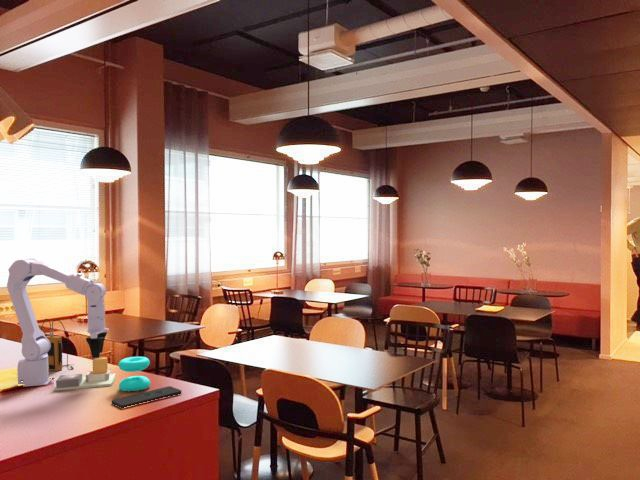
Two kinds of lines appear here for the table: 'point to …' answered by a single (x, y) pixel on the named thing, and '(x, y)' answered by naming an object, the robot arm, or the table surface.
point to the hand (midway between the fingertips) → (97, 355)
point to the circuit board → (91, 383)
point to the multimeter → (55, 350)
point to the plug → (100, 365)
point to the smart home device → (146, 396)
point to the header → (98, 376)
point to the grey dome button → (69, 381)
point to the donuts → (135, 381)
